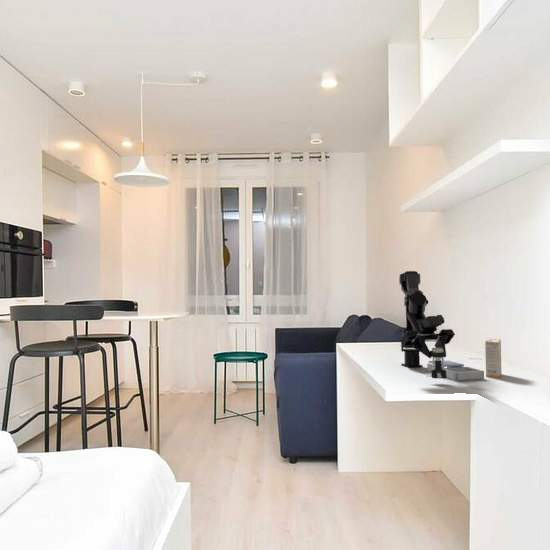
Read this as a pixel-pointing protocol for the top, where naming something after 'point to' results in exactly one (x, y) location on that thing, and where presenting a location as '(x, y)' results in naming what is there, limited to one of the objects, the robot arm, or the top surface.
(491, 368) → the supplement box
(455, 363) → the panel
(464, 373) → the grey tray
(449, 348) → the top surface
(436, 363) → the push button
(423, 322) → the robot arm
